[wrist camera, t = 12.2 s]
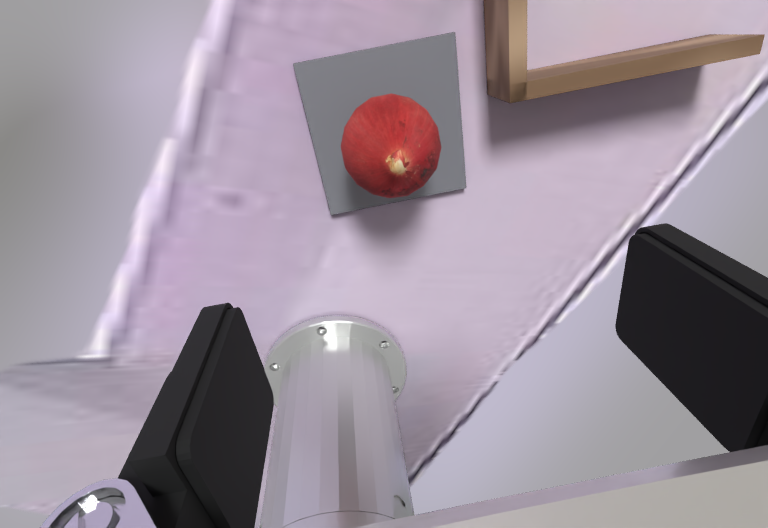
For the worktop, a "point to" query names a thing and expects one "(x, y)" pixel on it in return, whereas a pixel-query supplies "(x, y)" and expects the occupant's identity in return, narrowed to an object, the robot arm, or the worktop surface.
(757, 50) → the tan u-shaped frame
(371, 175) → the onion
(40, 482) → the worktop surface
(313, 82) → the mat
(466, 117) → the worktop surface
